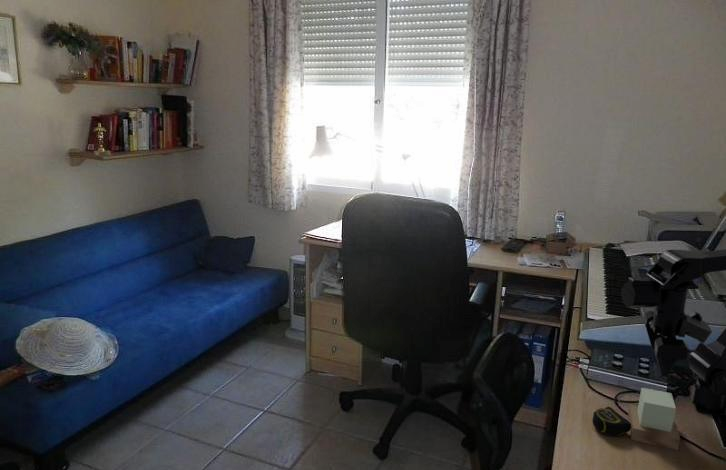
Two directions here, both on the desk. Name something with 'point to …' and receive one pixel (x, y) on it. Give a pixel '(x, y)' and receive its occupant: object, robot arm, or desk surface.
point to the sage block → (656, 409)
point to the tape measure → (610, 422)
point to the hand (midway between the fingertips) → (660, 366)
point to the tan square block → (652, 432)
